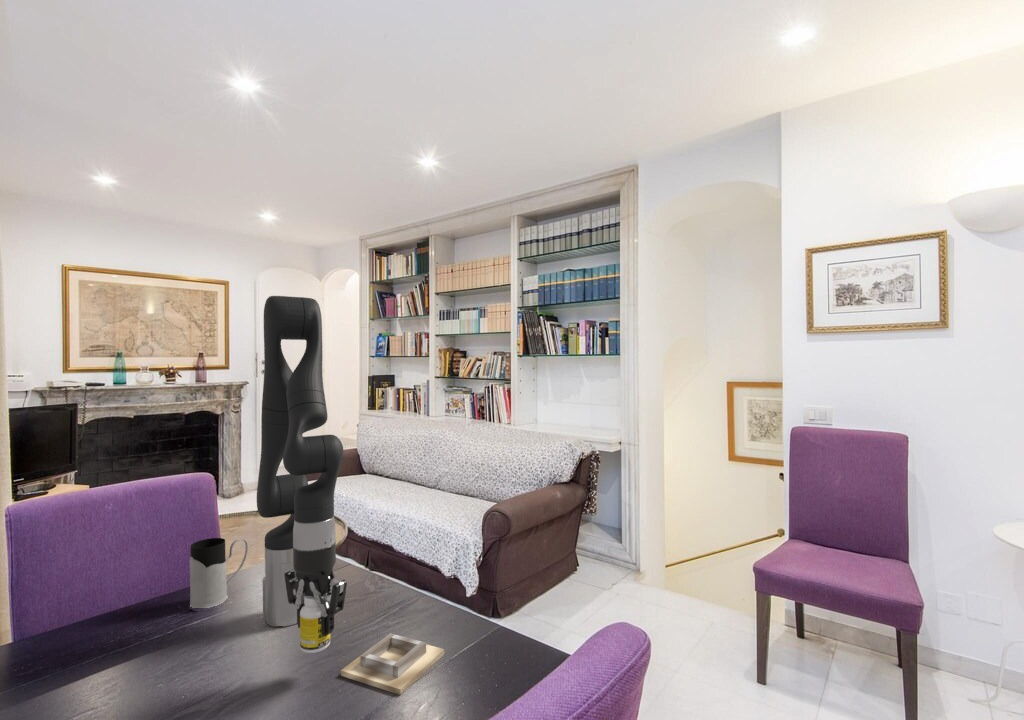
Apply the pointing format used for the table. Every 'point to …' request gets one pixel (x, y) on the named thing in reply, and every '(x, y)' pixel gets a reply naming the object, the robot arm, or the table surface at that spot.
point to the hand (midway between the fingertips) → (315, 629)
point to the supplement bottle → (312, 627)
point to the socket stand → (393, 663)
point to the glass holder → (210, 572)
